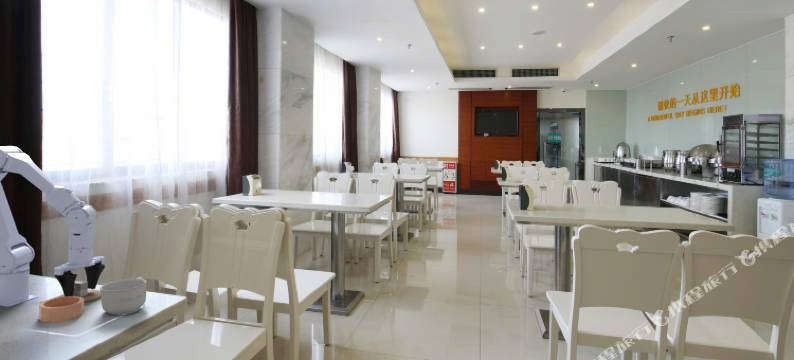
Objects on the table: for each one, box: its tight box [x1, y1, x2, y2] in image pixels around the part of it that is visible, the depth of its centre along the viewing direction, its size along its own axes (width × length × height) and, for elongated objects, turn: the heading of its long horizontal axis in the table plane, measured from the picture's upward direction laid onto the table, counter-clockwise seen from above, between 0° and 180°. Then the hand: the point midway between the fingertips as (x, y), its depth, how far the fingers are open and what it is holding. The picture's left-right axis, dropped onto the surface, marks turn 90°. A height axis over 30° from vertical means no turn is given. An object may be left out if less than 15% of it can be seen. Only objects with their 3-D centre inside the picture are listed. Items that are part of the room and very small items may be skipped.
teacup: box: [99, 276, 147, 316], centre depth 117 cm, size 14×11×8 cm
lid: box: [56, 280, 101, 303], centre depth 123 cm, size 11×11×5 cm
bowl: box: [38, 296, 85, 323], centre depth 110 cm, size 9×9×4 cm
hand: (80, 292), depth 123 cm, fingers open, 7 cm apart
